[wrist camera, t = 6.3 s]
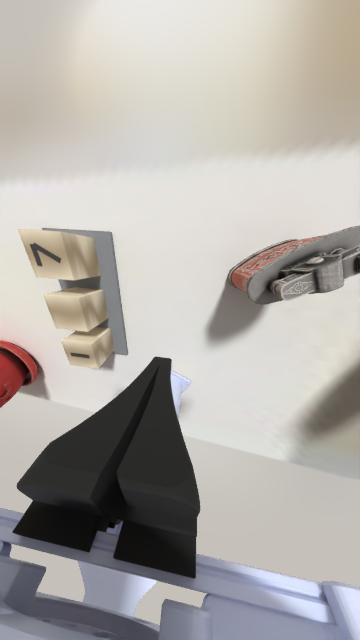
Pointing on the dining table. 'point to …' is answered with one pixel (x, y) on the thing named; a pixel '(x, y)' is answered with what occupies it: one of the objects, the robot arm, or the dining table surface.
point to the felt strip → (103, 284)
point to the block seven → (60, 254)
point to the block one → (89, 347)
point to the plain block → (77, 308)
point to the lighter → (299, 267)
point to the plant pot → (14, 370)
